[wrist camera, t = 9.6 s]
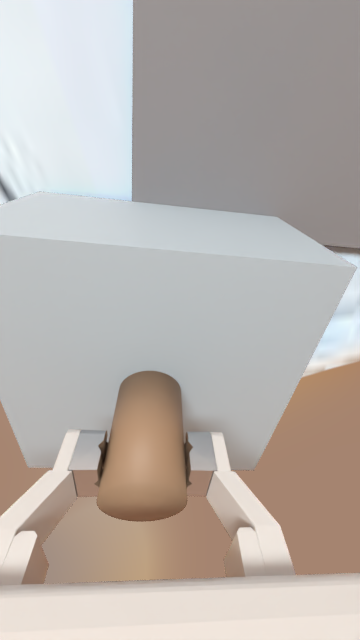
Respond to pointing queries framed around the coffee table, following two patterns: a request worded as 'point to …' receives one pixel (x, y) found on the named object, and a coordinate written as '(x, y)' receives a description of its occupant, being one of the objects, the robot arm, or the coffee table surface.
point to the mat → (250, 110)
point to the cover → (154, 334)
